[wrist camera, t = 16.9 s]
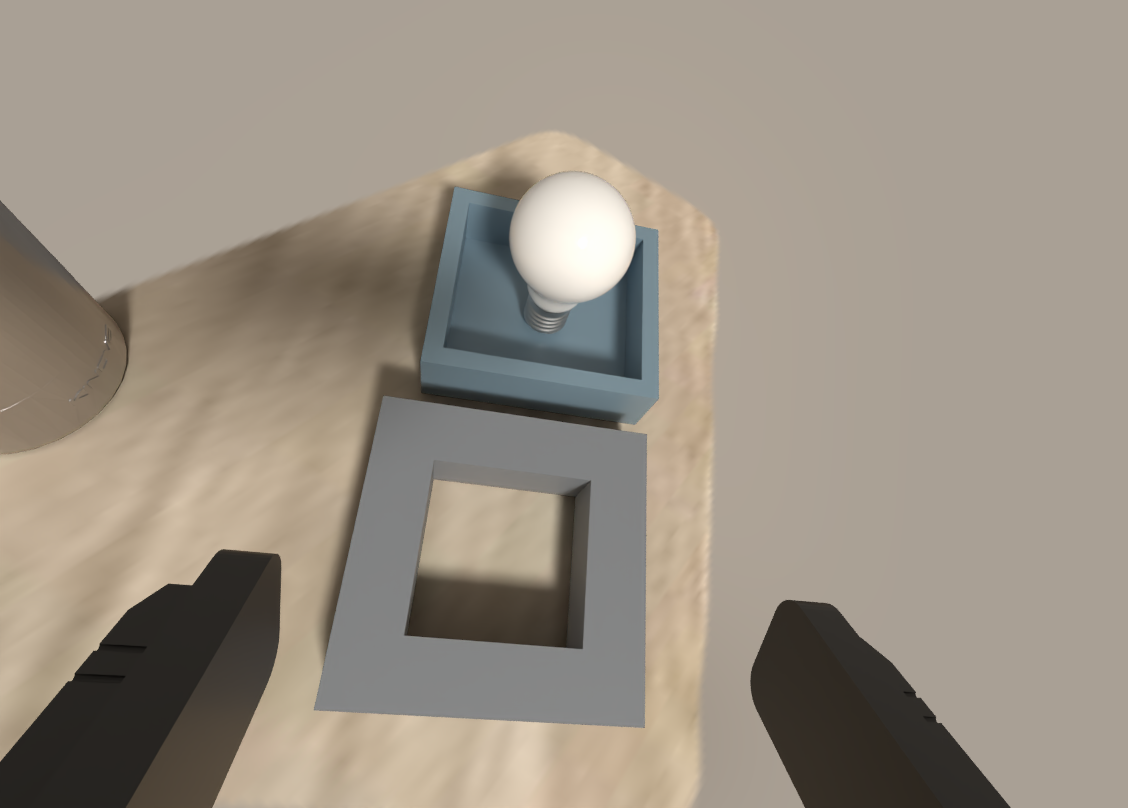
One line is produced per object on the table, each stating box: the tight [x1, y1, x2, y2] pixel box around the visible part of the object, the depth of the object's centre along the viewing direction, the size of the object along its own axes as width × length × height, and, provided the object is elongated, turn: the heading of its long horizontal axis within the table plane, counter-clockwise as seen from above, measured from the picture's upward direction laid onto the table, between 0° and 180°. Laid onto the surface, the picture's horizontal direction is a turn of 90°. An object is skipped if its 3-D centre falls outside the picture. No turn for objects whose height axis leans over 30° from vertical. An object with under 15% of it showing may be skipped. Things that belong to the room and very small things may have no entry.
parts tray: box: [420, 187, 659, 425], centre depth 34 cm, size 13×12×4 cm
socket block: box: [314, 396, 647, 728], centre depth 28 cm, size 14×14×4 cm
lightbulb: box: [509, 171, 636, 334], centre depth 30 cm, size 6×6×11 cm
